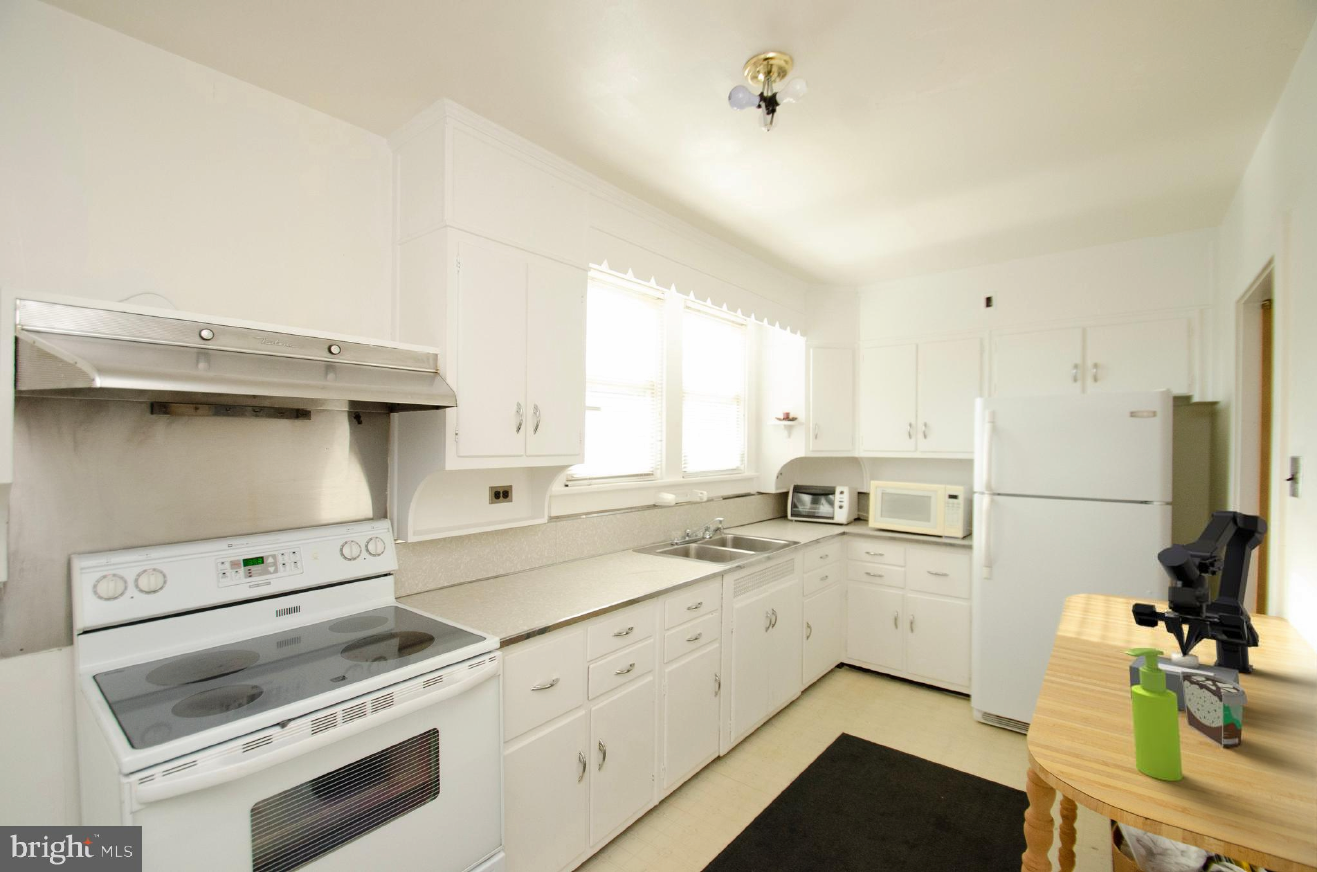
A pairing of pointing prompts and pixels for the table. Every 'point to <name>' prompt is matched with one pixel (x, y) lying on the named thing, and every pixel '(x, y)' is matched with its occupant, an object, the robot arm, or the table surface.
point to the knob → (1185, 660)
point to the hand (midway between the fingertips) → (1184, 653)
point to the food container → (1214, 707)
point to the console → (1174, 675)
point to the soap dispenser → (1155, 720)
